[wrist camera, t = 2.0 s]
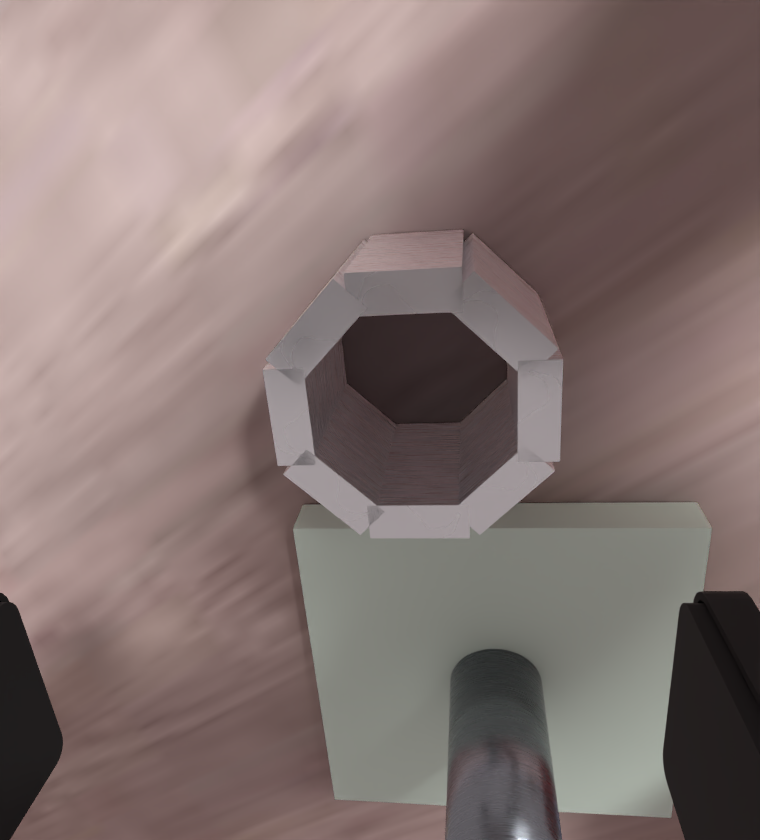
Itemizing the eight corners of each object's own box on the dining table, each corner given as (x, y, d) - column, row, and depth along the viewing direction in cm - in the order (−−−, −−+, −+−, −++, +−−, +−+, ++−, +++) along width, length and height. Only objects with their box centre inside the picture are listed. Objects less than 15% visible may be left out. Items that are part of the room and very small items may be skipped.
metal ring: (297, 239, 20) (248, 278, 15) (543, 224, 19) (566, 260, 14) (324, 452, 23) (289, 538, 18) (538, 449, 22) (557, 538, 17)
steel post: (448, 647, 24) (441, 844, 17) (542, 649, 23) (570, 852, 17) (451, 715, 25) (446, 921, 19) (541, 718, 25) (566, 930, 18)
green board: (302, 504, 24) (292, 528, 22) (697, 502, 22) (712, 528, 21) (340, 767, 29) (334, 799, 28) (660, 782, 27) (671, 818, 26)
